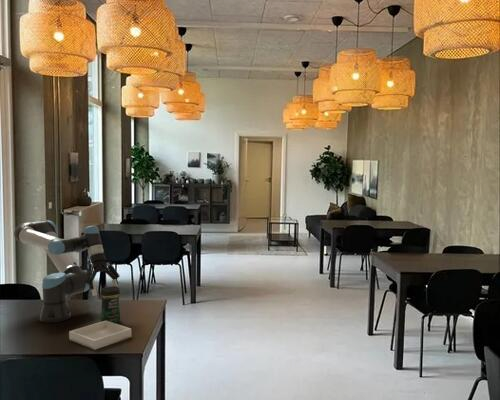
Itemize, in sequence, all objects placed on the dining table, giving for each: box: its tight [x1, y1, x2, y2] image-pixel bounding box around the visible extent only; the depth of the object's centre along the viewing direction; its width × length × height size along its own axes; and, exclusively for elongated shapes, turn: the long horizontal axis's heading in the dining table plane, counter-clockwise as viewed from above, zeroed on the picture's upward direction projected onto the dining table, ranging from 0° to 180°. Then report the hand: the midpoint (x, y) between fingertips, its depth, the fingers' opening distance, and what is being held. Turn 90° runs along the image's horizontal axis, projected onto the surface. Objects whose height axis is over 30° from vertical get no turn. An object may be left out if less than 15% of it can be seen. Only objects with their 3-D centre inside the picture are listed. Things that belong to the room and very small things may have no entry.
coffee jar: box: [99, 285, 121, 324], centre depth 242 cm, size 10×8×19 cm
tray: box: [68, 321, 133, 351], centre depth 219 cm, size 20×20×4 cm
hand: (106, 293), depth 242 cm, fingers open, 13 cm apart
